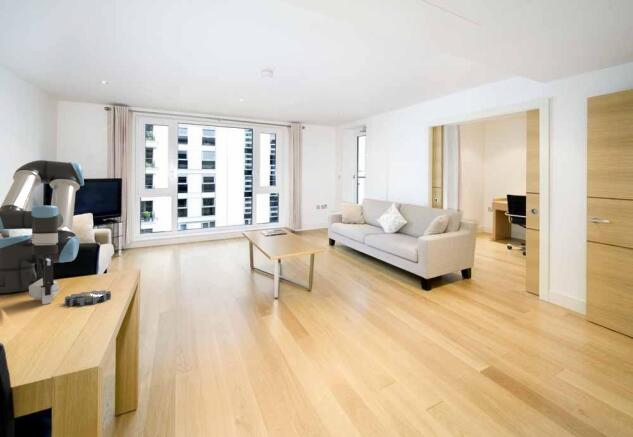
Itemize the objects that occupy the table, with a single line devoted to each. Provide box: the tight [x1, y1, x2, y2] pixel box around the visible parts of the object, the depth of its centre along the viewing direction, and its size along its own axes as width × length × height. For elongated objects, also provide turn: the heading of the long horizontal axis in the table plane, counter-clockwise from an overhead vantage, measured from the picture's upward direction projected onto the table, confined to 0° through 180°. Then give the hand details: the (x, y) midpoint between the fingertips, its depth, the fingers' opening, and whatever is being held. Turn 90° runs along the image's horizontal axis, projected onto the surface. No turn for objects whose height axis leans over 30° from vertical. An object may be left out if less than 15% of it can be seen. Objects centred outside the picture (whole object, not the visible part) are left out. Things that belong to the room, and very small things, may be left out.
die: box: [28, 278, 60, 302], centre depth 113 cm, size 8×9×10 cm
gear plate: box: [64, 289, 112, 307], centre depth 114 cm, size 15×15×2 cm
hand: (44, 301), depth 112 cm, fingers closed on die, 8 cm apart
